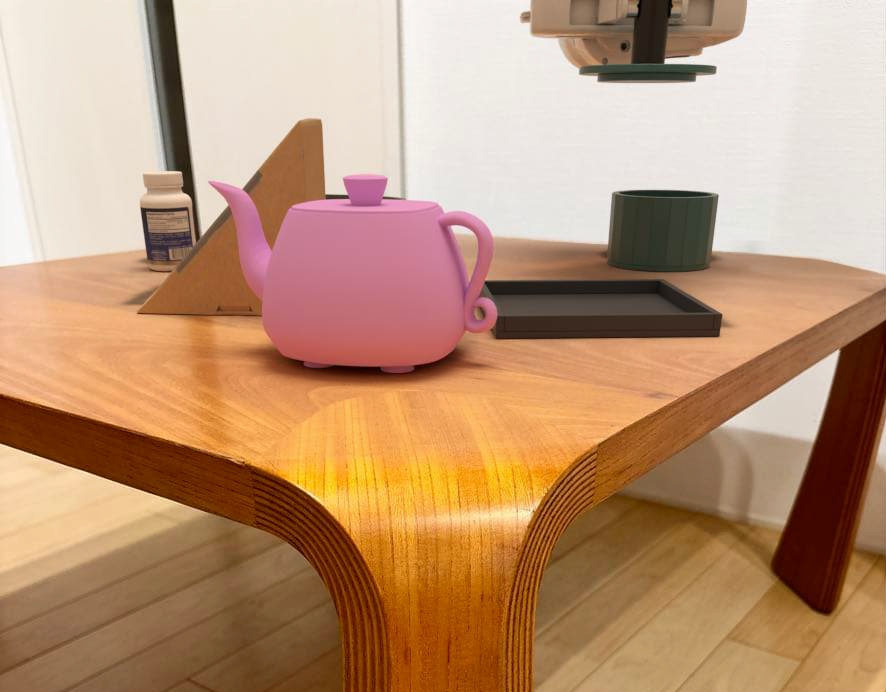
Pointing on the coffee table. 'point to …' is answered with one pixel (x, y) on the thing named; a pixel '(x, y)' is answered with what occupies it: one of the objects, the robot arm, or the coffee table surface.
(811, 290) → the coffee table surface
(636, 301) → the lid tray
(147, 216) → the pill bottle
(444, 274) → the teapot
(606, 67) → the tin lid
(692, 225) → the dark green cylinder
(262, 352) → the coffee table surface
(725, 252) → the coffee table surface
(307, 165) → the sandwich container
